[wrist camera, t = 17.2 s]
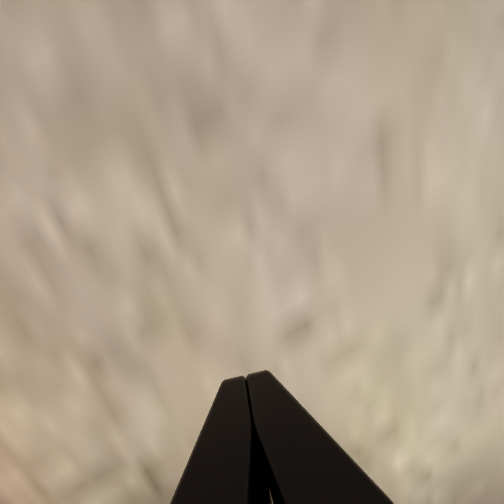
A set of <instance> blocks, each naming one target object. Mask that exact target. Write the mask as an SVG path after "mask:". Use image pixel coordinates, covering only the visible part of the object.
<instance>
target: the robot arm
mask: <svg viewBox="0 0 504 504" xmlns="http://www.w3.org/2000/svg"><path fill="white" fill-rule="evenodd" d="M270 492H271V493H270ZM271 496H272V499H271ZM272 500H273V504H394V503H393V502H392V501H391V499H390V498H389V497H388V496H387V495H386V494H385V493H384V492H383V491H382V490H381V489H380V488H379V487H378V486H377V485H376V484H375V483H374V481H373V480H372V479H371V478H370V477H369V476H368V475H367V474H366V473H365V472H364V471H363V470H362V469H361V468H360V467H359V466H358V465H357V463H356V462H355V461H354V460H353V459H352V458H351V457H350V456H349V455H348V454H347V453H346V452H345V451H344V450H343V449H342V448H341V447H340V445H339V444H338V443H337V442H336V441H335V440H334V439H333V438H332V437H331V436H330V435H329V434H328V433H327V432H326V431H325V430H324V429H323V427H322V426H321V425H320V424H319V423H318V422H317V421H316V420H315V419H314V418H313V417H312V416H311V415H310V414H309V413H308V412H307V411H306V409H305V408H304V407H303V406H302V405H301V404H300V403H299V402H298V401H297V400H296V399H295V398H294V397H293V396H292V395H291V394H290V393H289V391H288V390H287V389H286V388H285V387H284V386H283V385H282V384H281V383H280V382H279V381H278V380H277V379H276V378H275V377H274V376H273V375H272V373H270V372H269V371H267V370H264V371H260V372H256V373H251V374H248V375H247V377H246V378H245V377H244V376H239V377H234V378H230V379H226V380H224V381H223V382H222V383H221V385H220V388H219V390H218V392H217V395H216V397H215V399H214V402H213V404H212V407H211V409H210V411H209V414H208V416H207V418H206V421H205V423H204V425H203V428H202V430H201V432H200V435H199V437H198V439H197V442H196V444H195V446H194V449H193V451H192V454H191V456H190V458H189V461H188V463H187V465H186V468H185V470H184V472H183V475H182V477H181V479H180V482H179V484H178V486H177V489H176V491H175V493H174V496H173V498H172V501H171V503H170V504H272Z"/></svg>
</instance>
